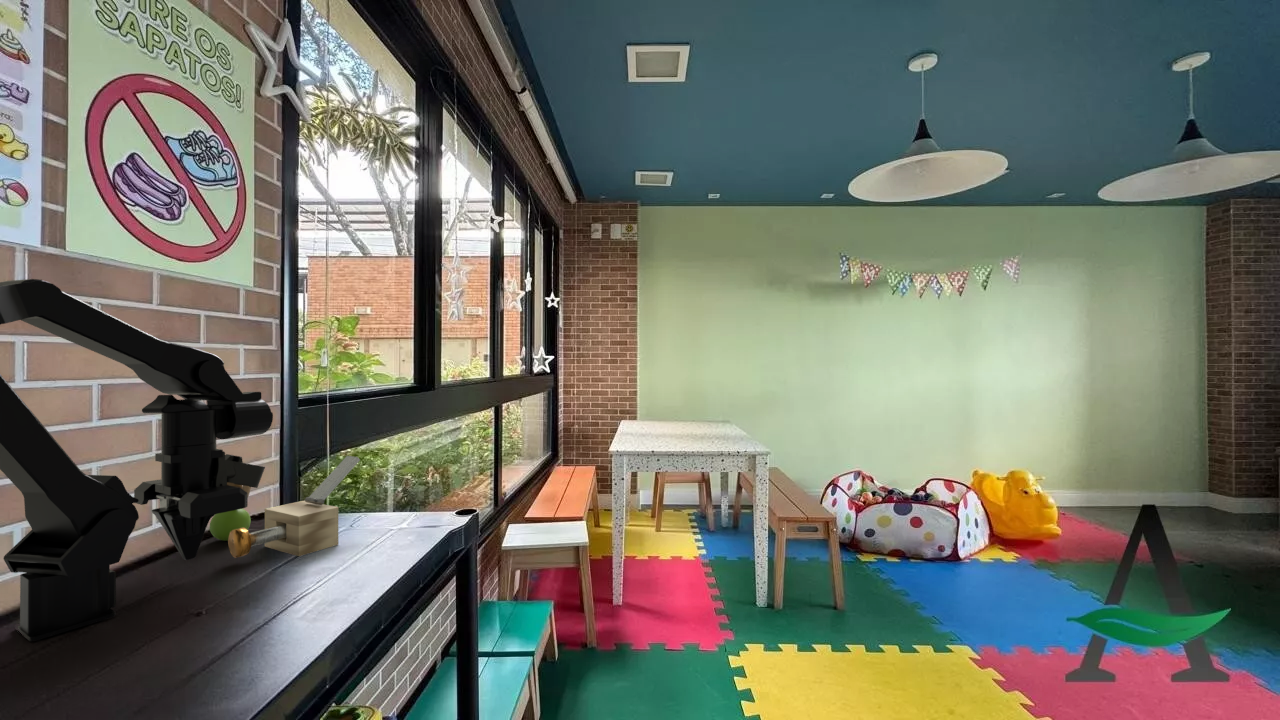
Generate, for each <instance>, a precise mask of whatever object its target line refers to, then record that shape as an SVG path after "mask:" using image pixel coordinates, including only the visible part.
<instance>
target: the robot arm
mask: <svg viewBox="0 0 1280 720" xmlns="http://www.w3.org/2000/svg"><path fill="white" fill-rule="evenodd" d="M18 321H21V322H24V323H26V324H29V325H31V326H34V327H36V328H39V329H40V330H42V331H45V332H47V333H49V334H52V335H54V336H57V337H58V338H62V339H64V340H66V341H68V342H71V343H73V344H75V345H78V346H80V347H82V348H84V349H87V350H89V351H92V352H94V353H96V354H98V355H101V356H103V357H106V358H107V359H110V360H113V361H116V362H118V363H120V364H122V365H124V366H126V367H127V368H129V369H131V370H132V371H133V372H134V373H135V374H136V376H137V377H138V378H139V379H140V380H141V381H143V382H144V383H146V384H148V385H149V386H150V387H152V388H153V389H155V390H157V391H159V392H160V393H162V394H158V395H157V396H156V397H155V399H154V400H153V401H151V402H150V403H148V404H146V405H145V406H144V407H143V408H141V412H142V413H143V414H161V423H160V424H161V425H160V426H161V427H160V428H161V435H160V437H161V438H160V439H161V444H160V445H161V447H160V448H161V451H160V452H157V453H155V455H154V457H155V458H154V459H155V462H161V467H160V468H161V470H160V471H161V472H160V473H161V474H160V475H161V478H160V479H154V480H148V481H142V482H141V483H140V484H139V485H138V486H136V488H134V490H133V495H134V496H133V495H132V494H130V493H129V492H128V491H127V489H126V488H125V485H124V483H123V481H122V479H120V478H119V476H118V475H102V474H87V473H84V471H82V470H81V469H80V468H79V467H78V466H77V464H76V463H75V462H74V461H73V460H72V458H71V457H70V456H69V454H68V453H67V452H66V451H65V450H64V448H63V447H62V446H61V445H60V444H59V442H58V441H57V440H56V439H55V438H54V436H53V435H52V434H51V433H50V432H49V431H48V429H47V428H46V427H45V426H44V425H43V423H42V422H41V421H40V420H39V419H38V417H37V416H36V415H35V414H34V413H33V411H32V410H31V409H30V408H29V407H28V406H27V405H26V403H25V402H24V401H23V399H22V398H21V396H19V394H18V393H17V392H16V390H14V388H13V387H12V386H11V385H10V384H9V382H8V381H7V380H6V379H5V377H3V376H2V374H1V373H0V471H1V472H2V473H3V474H4V475H5V476H6V477H7V479H9V481H10V482H11V483H12V484H13V485H14V486H15V487H16V488H17V489H18V490H19V492H21V494H22V495H23V502H24V517H25V519H26V521H27V523H28V524H29V526H30V528H31V530H30V531H29V532H28V533H27V534H25V536H23V537H22V538H21V539H20V540H19V542H17V543H16V544H15V545H14V546H13V547H12V548H11V549H10V550H9V551H8V552H7V553H6V554H5V555H4V556H3V561H4V563H5V564H6V566H7V568H8V570H9V572H11V573H15V574H17V573H21V574H20V577H19V578H20V579H19V581H20V583H19V584H20V585H19V588H20V590H19V591H20V594H19V600H20V601H19V623H20V626H18V629H19V630H20V632H21V633H22V634H23V635H24V636H23V635H22V636H23V637H24V638H25V639H27V640H28V641H29V642H35V641H39V640H42V639H46V638H49V637H52V636H56V635H58V634H62V633H66V632H69V631H72V630H76V629H78V628H81V627H82V628H83V627H85V626H87V625H91V624H94V623H98V622H101V621H105V620H107V619H111V618H113V617H115V616H116V611H115V610H114V609H113V608H115V606H116V605H117V599H116V598H117V572H116V571H114V570H112V569H111V568H110V566H111V565H115V564H117V563H119V562H120V560H121V558H122V556H123V553H124V551H125V548H126V546H127V542H128V540H129V538H130V536H131V535H132V532H133V531H134V529H135V528H136V524H137V521H138V520H139V518H140V516H139V515H140V514H139V511H138V510H137V509H138V508H136V506H135V505H134V504H137V505H142V506H145V505H148V502H149V501H152V500H153V501H156V500H159V507H158V508H153V509H152V510H151V513H152V514H153V515H154V516H155V517H156V519H157V520H158V522H159V523H160V525H161V526H162V528H163V529H164V531H165V532H166V534H167V535H168V537H169V538H170V540H171V542H172V543H173V545H174V547H175V548H176V550H177V551H178V553H179V554H180V556H181V557H182V559H183V560H184V561H189V560H193V559H195V558H197V554H198V551H199V548H200V545H201V544H202V541H203V537H204V535H205V532H206V529H207V528H208V526H209V524H210V521H211V520H212V518H213V516H214V515H215V514H218V513H223V512H228V511H233V510H238V509H246V508H247V507H248V505H249V504H248V501H249V500H248V498H249V496H248V493H247V492H245V491H244V490H243V489H241V488H240V487H235V486H229V485H227V482H229V483H234V484H237V485H242V486H243V485H244V486H249V487H251V488H256V489H257V488H258V487H259V485H260V482H261V479H262V476H263V474H264V471H265V470H266V469H265V468H266V466H263V465H257V464H250V463H245V462H244V461H243V457H242V456H239V455H233V454H227V453H226V452H225V451H224V450H223V449H220V448H217V439H218V440H231V439H237V438H245V437H254V436H259V435H263V434H265V433H267V432H268V431H269V430H270V428H271V427H272V423H273V420H274V418H273V417H274V414H273V411H272V410H271V407H270V405H269V404H268V403H267V402H266V401H265V400H264V399H262V392H261V391H244V392H242V390H241V389H240V388H239V386H238V385H237V384H236V383H235V380H233V378H232V377H231V376H230V374H229V373H228V371H227V370H226V369H225V366H224V365H225V362H224V361H223V359H222V358H221V357H219V356H218V355H216V354H214V353H211V352H208V351H206V350H202V349H199V348H196V347H193V346H189V345H188V346H187V345H183V344H178V343H174V342H169V341H167V340H163V339H159V338H157V337H155V336H154V335H152V334H150V333H147V332H146V331H143V330H142V329H139V328H138V327H136V326H134V325H131V324H130V323H127V322H125V321H123V320H121V319H119V318H117V317H115V316H113V315H111V314H109V313H107V312H105V311H103V310H100V309H99V308H97V307H95V306H93V305H91V304H89V303H87V302H85V301H83V300H81V299H78V298H77V297H75V296H72V295H71V294H68V293H67V292H65V291H63V290H61V288H59V287H58V286H57V285H55V284H54V283H51V282H50V281H46V280H43V279H36V278H29V279H14V280H13V279H12V280H5V281H0V326H1V325H5V324H10V323H13V322H18ZM174 395H175V396H178V397H180V398H181V399H177V398H176V397H175V396H174ZM204 401H206V403H205V402H204Z"/></svg>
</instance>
